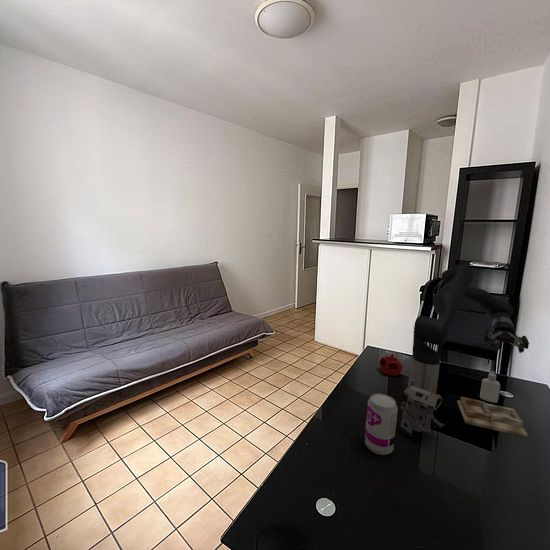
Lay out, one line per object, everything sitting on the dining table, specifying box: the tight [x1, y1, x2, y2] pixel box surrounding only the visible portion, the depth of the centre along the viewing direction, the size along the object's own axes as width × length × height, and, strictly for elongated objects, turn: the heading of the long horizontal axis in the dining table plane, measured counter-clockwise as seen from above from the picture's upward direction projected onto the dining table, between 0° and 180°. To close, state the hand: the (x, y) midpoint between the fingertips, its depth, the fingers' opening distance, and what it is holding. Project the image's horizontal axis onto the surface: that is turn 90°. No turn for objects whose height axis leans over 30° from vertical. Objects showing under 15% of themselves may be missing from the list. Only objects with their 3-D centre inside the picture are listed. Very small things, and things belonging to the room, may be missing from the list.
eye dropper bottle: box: [479, 370, 501, 404], centre depth 111 cm, size 4×6×12 cm
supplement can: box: [364, 393, 399, 456], centre depth 85 cm, size 8×8×15 cm
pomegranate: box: [378, 353, 404, 377], centre depth 131 cm, size 10×10×9 cm
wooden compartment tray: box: [456, 396, 529, 439], centre depth 100 cm, size 17×13×3 cm
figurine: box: [398, 385, 449, 438], centre depth 91 cm, size 9×12×15 cm
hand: (506, 348), depth 113 cm, fingers open, 8 cm apart
